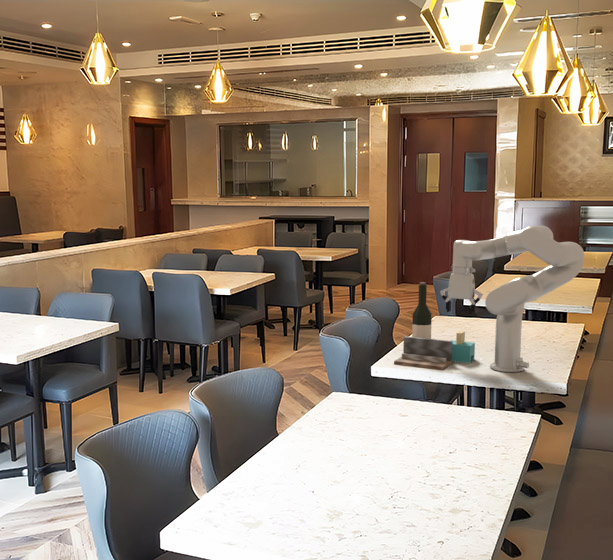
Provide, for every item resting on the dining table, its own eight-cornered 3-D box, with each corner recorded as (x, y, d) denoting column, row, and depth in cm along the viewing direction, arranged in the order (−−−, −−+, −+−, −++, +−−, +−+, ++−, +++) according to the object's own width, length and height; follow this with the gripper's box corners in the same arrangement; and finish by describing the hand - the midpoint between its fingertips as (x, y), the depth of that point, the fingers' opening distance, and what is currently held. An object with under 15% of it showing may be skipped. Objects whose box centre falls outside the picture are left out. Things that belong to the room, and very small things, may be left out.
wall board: (451, 363, 282) (452, 341, 281) (442, 369, 271) (443, 346, 270) (404, 357, 291) (405, 336, 290) (394, 363, 281) (394, 341, 280)
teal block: (474, 359, 289) (475, 331, 287) (469, 363, 282) (470, 334, 281) (450, 356, 293) (451, 329, 292) (445, 360, 287) (446, 332, 286)
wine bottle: (425, 355, 295) (427, 284, 291) (408, 352, 300) (409, 283, 296) (434, 351, 302) (436, 282, 298) (417, 349, 307) (418, 281, 303)
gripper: (485, 271, 283) (484, 313, 285) (443, 268, 291) (442, 309, 293) (481, 273, 276) (479, 316, 278) (438, 270, 284) (436, 312, 286)
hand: (460, 312), depth 286 cm, fingers open, 9 cm apart
